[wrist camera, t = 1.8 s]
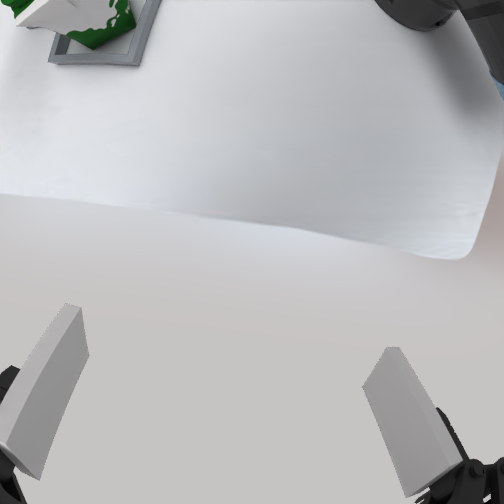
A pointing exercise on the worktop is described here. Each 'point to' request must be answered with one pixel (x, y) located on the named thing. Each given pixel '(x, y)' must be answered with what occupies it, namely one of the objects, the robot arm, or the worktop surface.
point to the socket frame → (131, 58)
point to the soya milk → (76, 18)
